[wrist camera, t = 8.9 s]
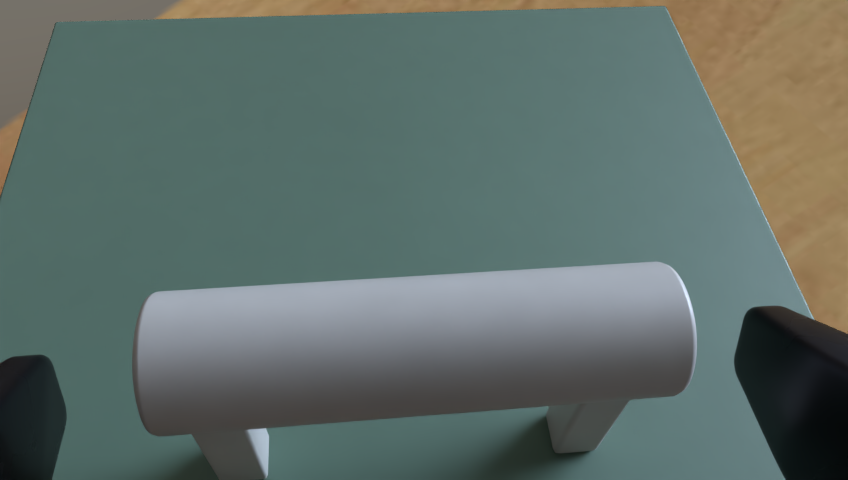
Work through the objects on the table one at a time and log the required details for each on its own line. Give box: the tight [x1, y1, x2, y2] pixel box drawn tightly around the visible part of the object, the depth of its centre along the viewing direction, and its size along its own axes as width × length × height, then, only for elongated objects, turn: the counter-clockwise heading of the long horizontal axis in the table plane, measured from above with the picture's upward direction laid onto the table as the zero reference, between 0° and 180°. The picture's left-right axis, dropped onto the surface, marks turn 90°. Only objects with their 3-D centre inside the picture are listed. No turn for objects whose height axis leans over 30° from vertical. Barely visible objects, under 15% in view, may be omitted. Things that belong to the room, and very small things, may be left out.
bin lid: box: [0, 6, 814, 480], centre depth 12 cm, size 12×15×5 cm
